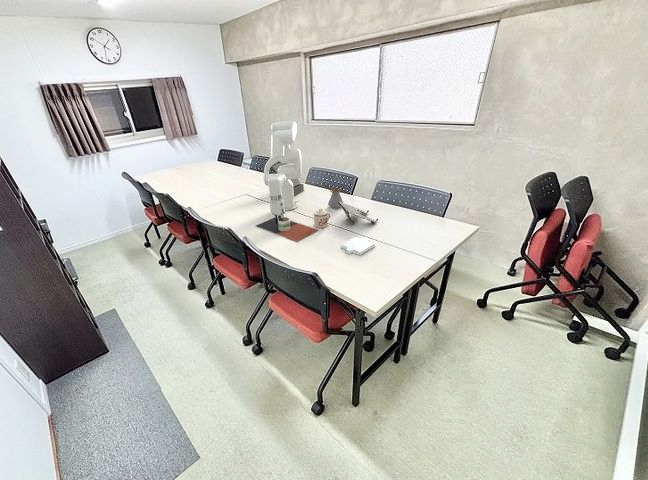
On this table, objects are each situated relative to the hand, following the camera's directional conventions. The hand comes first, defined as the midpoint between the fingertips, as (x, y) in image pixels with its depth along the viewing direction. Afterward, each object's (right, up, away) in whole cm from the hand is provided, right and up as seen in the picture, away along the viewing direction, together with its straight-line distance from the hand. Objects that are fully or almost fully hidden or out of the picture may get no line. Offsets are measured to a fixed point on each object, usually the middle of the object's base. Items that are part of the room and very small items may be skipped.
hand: (278, 223), depth 190 cm
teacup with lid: (+29, -1, -3) cm, 29 cm away
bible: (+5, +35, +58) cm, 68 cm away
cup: (+4, -4, -4) cm, 7 cm away
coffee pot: (+40, +18, +26) cm, 51 cm away
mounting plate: (+46, -18, -31) cm, 58 cm away
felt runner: (+5, -3, -3) cm, 7 cm away
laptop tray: (+53, +2, 0) cm, 53 cm away
